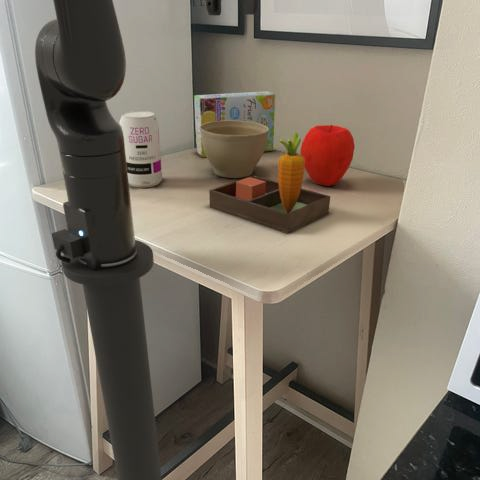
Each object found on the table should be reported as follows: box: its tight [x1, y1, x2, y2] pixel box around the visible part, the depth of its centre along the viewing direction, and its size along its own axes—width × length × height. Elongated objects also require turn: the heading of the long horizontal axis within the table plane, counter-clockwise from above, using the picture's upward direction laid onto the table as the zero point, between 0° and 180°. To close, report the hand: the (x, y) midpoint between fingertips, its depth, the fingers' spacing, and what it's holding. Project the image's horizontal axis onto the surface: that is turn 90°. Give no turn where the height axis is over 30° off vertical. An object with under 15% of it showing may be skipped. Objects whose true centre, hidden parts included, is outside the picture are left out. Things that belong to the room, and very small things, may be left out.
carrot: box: [277, 131, 305, 213], centre depth 94 cm, size 5×5×15 cm
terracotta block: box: [236, 176, 266, 201], centre depth 103 cm, size 4×4×4 cm
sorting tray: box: [208, 174, 331, 234], centre depth 101 cm, size 14×20×4 cm
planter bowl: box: [200, 120, 269, 179], centre depth 119 cm, size 16×16×11 cm
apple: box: [299, 124, 355, 187], centre depth 112 cm, size 12×12×13 cm
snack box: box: [193, 90, 276, 158], centre depth 135 cm, size 21×6×15 cm, turn 111°
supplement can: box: [118, 110, 163, 189], centre depth 111 cm, size 8×8×15 cm
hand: (232, 14), depth 79 cm, fingers open, 8 cm apart
